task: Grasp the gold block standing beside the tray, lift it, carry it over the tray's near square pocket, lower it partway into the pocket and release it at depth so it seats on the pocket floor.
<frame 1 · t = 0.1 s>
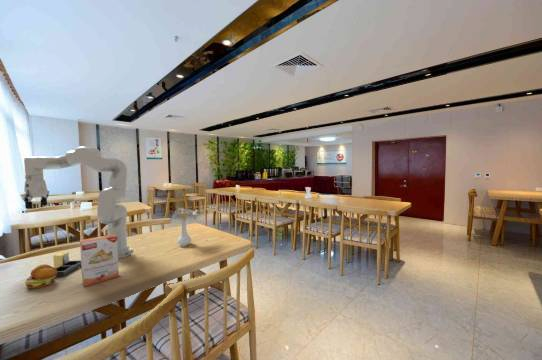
hand: (36, 206, 142), 31 cm above the table, fingers open, 9 cm apart
cracker box: (101, 280, 116), on the table
tray: (67, 270, 127), on the table
flower vase: (184, 244, 166), on the table
gold block: (61, 266, 132), on the table
cheeseburger: (42, 284, 113), on the table
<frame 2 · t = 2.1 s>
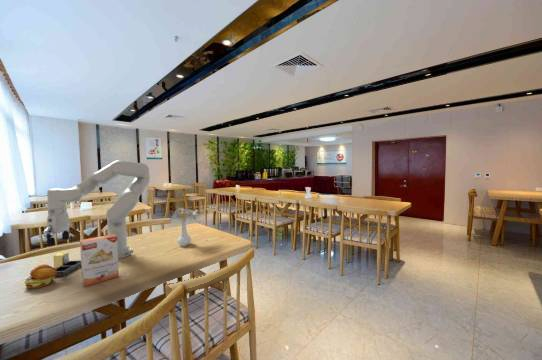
hand: (58, 242, 131), 14 cm above the table, fingers open, 9 cm apart
nothing on the table moved.
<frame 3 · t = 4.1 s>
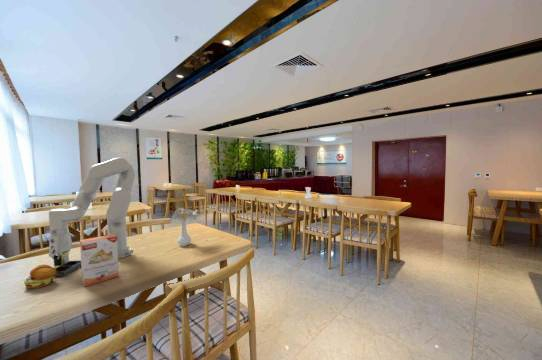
hand: (61, 263, 132), 2 cm above the table, fingers closed on gold block, 4 cm apart
gold block: (61, 266, 132), on the table, touching gripper
everything else where it was.
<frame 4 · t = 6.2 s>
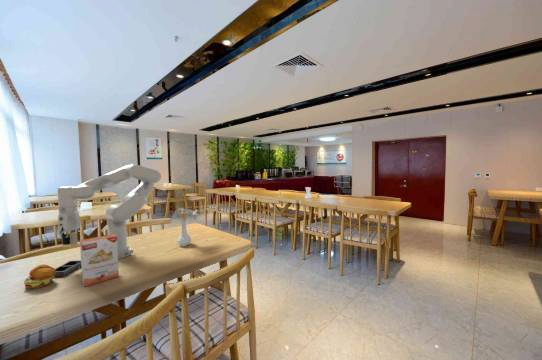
hand: (69, 242, 129), 14 cm above the table, fingers closed on gold block, 4 cm apart
gold block: (70, 245, 129), point 12 cm above the table, touching gripper
everything else where it was.
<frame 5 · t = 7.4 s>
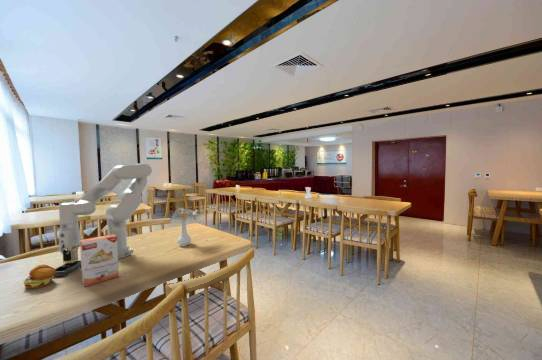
hand: (70, 258, 130), 5 cm above the table, fingers closed on gold block, 4 cm apart
gold block: (70, 261, 130), point 4 cm above the table, touching gripper
everything else where it was.
when the fingers open (3 cm above the table, at t = 8.4 s): gold block drops 1 cm, resting on tray.
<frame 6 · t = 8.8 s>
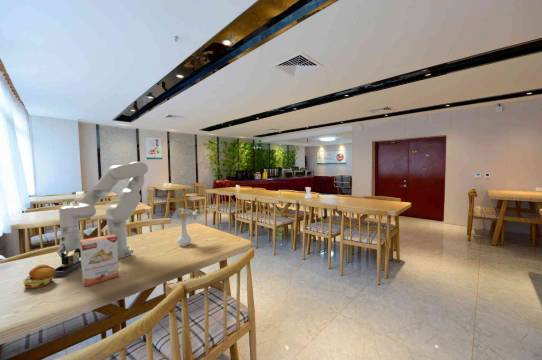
hand: (71, 260, 130), 4 cm above the table, fingers open, 8 cm apart
gold block: (72, 266, 130), resting on tray
everything else where it was.
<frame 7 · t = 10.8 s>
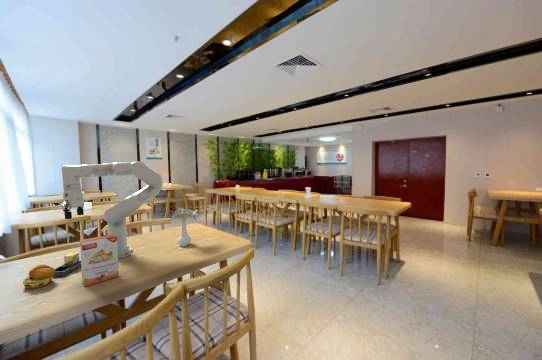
hand: (74, 216, 136), 26 cm above the table, fingers open, 9 cm apart
nothing on the table moved.
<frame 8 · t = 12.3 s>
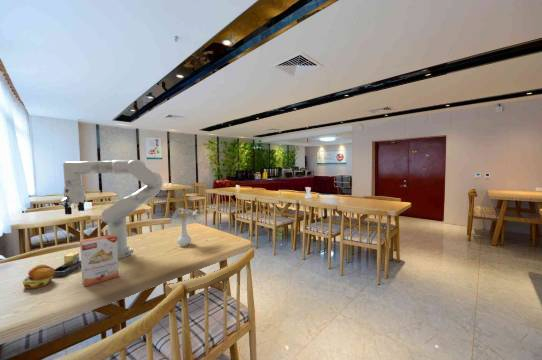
hand: (75, 212, 138), 28 cm above the table, fingers open, 9 cm apart
nothing on the table moved.
at the end: gold block 0.1 cm from the target spot on the tray, point 0.5 cm above the tray's base; gold block tilted 0°; the gripper is holding nothing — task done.
